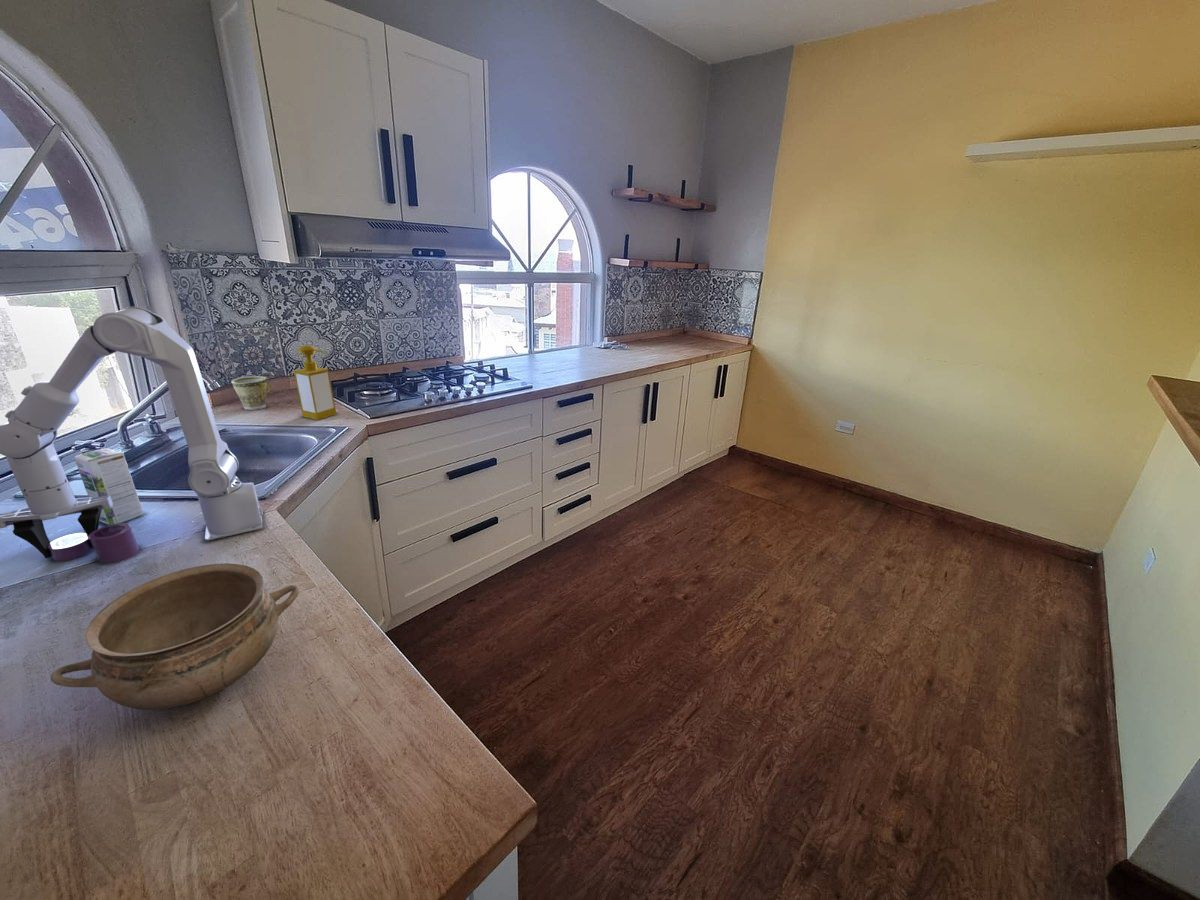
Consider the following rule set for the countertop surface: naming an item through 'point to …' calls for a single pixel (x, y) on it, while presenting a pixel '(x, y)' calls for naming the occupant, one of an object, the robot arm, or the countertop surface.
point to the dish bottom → (117, 553)
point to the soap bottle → (314, 387)
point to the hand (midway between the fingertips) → (72, 550)
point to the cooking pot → (180, 637)
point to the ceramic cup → (251, 391)
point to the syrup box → (110, 483)
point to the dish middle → (111, 537)
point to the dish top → (69, 547)
